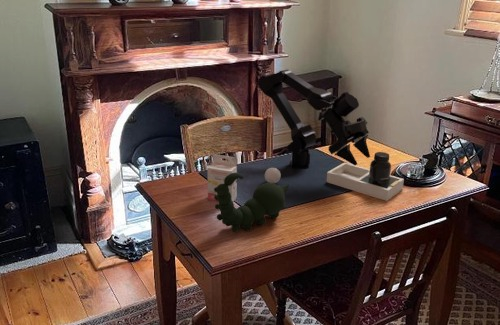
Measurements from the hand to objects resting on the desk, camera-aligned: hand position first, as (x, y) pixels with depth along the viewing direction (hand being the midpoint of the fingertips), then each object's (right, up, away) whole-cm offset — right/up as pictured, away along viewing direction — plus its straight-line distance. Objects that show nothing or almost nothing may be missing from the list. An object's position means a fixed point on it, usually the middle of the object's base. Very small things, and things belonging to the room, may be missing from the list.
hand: (362, 161), depth 171 cm
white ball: (-32, -8, +4) cm, 33 cm away
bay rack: (+1, -9, +2) cm, 9 cm away
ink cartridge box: (-48, -13, -8) cm, 50 cm away
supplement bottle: (+5, -9, -1) cm, 10 cm away
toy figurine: (-37, -19, -23) cm, 48 cm away
